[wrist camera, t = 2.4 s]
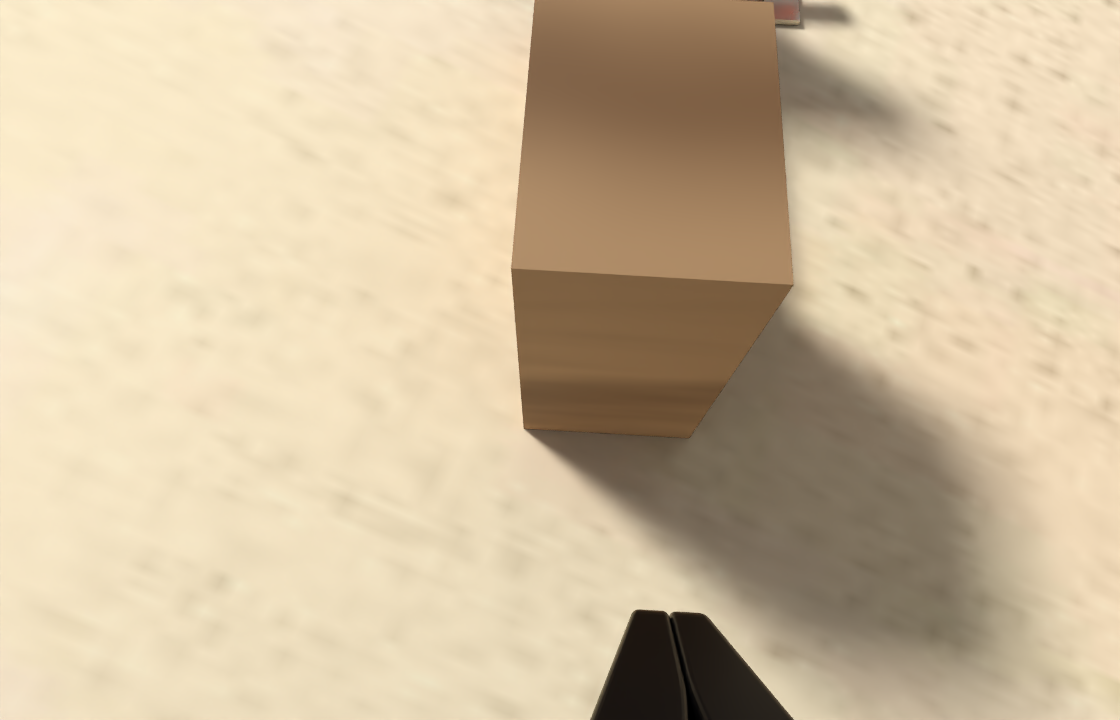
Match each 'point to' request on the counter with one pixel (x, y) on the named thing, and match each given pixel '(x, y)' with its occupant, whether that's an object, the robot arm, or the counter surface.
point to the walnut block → (646, 210)
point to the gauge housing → (786, 11)
